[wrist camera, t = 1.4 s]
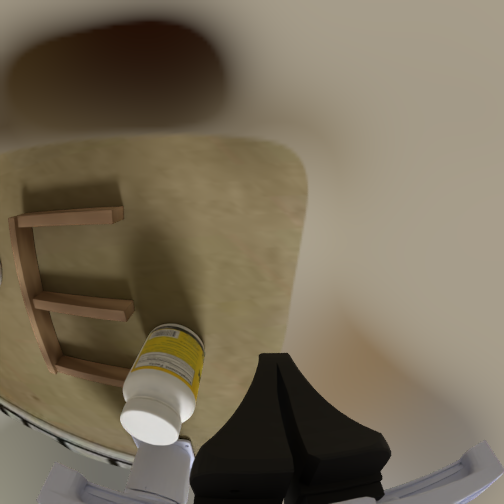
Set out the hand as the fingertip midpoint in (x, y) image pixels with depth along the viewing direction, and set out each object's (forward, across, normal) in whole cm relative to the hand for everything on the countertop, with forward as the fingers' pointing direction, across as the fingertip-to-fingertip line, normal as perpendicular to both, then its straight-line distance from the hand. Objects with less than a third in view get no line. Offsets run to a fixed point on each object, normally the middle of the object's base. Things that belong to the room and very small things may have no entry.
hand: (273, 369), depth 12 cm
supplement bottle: (+10, +8, +6) cm, 14 cm away
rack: (+10, +17, +2) cm, 20 cm away
